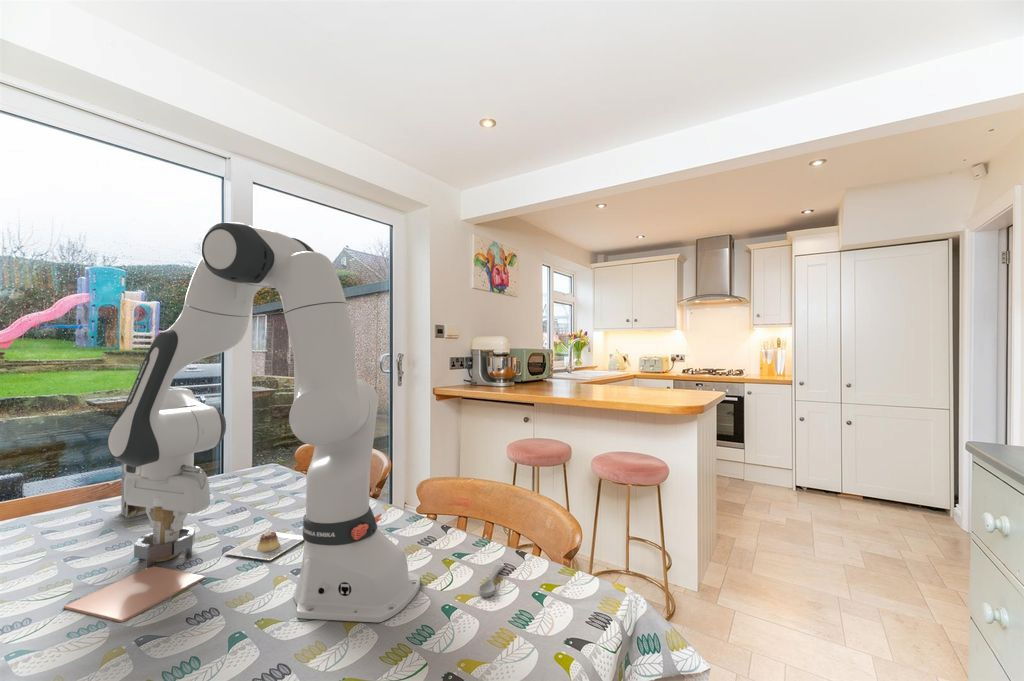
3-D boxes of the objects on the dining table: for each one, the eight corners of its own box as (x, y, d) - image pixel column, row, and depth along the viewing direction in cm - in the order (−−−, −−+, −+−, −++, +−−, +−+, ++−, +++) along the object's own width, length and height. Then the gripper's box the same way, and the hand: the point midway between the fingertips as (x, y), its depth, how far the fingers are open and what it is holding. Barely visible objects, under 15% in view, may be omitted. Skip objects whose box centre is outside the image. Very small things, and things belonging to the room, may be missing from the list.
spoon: (476, 599, 76) (476, 587, 76) (492, 571, 88) (492, 561, 88) (492, 601, 76) (492, 589, 76) (506, 572, 87) (506, 562, 87)
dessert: (266, 535, 103) (267, 515, 103) (309, 540, 100) (310, 520, 100) (223, 558, 91) (223, 536, 91) (269, 565, 88) (270, 542, 89)
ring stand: (204, 550, 94) (204, 529, 94) (158, 571, 84) (158, 549, 85) (172, 544, 96) (172, 524, 96) (123, 565, 87) (124, 543, 87)
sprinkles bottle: (177, 559, 90) (179, 495, 90) (149, 564, 87) (151, 499, 88) (180, 550, 94) (181, 489, 94) (153, 555, 91) (155, 493, 91)
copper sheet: (205, 578, 82) (205, 576, 82) (122, 622, 69) (122, 620, 69) (152, 567, 86) (152, 565, 86) (63, 608, 72) (63, 605, 72)
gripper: (219, 463, 91) (217, 528, 91) (149, 456, 97) (148, 517, 96) (190, 471, 85) (188, 541, 85) (117, 464, 90) (115, 529, 90)
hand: (166, 528), depth 91 cm, fingers closed on sprinkles bottle, 4 cm apart
